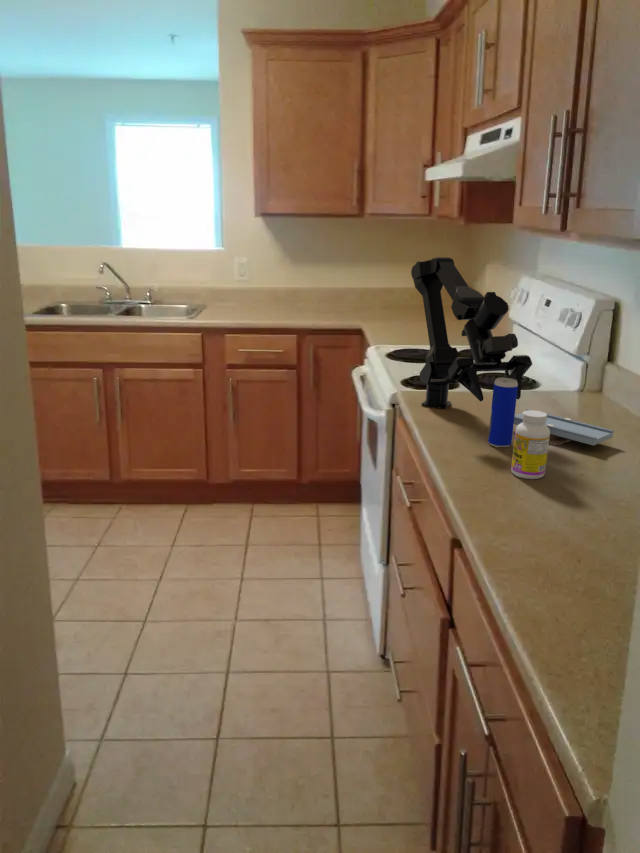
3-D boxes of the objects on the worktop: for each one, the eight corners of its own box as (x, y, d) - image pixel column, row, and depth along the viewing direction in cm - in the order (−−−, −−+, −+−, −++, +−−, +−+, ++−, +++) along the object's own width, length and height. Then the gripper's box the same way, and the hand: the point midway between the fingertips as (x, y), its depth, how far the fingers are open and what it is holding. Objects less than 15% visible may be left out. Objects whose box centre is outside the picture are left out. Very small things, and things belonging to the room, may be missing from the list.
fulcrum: (533, 439, 173) (534, 432, 173) (557, 430, 180) (558, 423, 180) (557, 445, 169) (557, 438, 169) (580, 436, 176) (581, 429, 176)
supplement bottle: (507, 467, 154) (514, 408, 151) (539, 469, 154) (547, 409, 150) (514, 479, 148) (521, 417, 144) (548, 481, 148) (556, 418, 144)
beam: (506, 422, 179) (507, 414, 178) (527, 415, 185) (528, 408, 184) (593, 445, 164) (594, 437, 163) (612, 437, 170) (613, 429, 169)
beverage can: (494, 439, 172) (500, 376, 168) (515, 444, 169) (522, 380, 165) (483, 444, 168) (490, 380, 164) (504, 450, 165) (512, 384, 161)
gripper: (457, 321, 164) (477, 382, 158) (532, 320, 170) (554, 378, 163) (440, 350, 174) (457, 408, 167) (511, 347, 179) (531, 404, 172)
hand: (500, 399), depth 167 cm, fingers open, 9 cm apart
